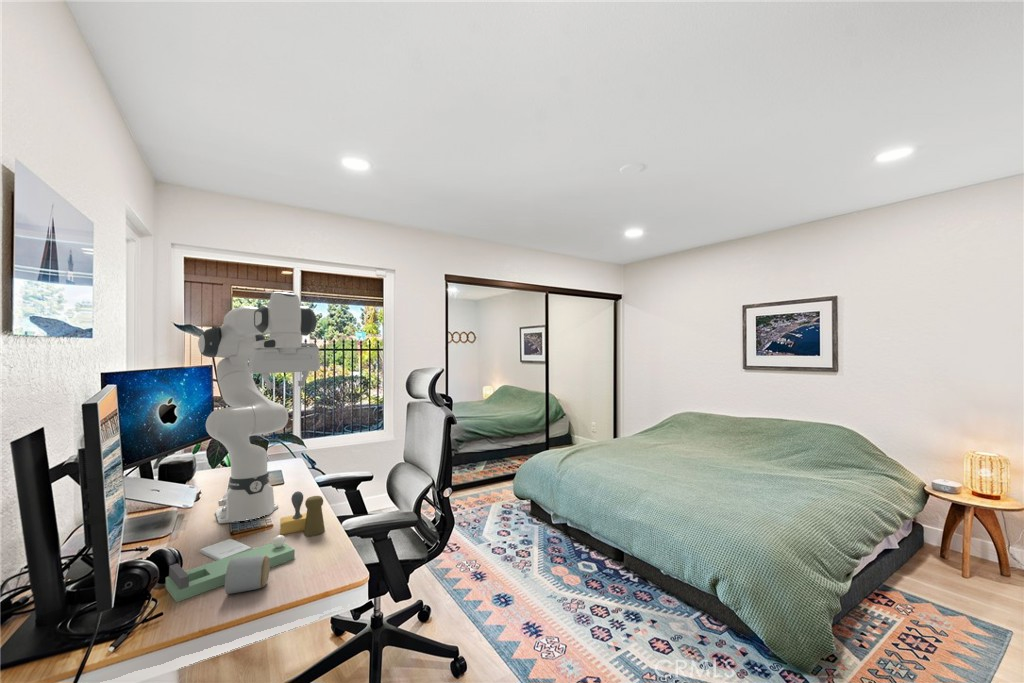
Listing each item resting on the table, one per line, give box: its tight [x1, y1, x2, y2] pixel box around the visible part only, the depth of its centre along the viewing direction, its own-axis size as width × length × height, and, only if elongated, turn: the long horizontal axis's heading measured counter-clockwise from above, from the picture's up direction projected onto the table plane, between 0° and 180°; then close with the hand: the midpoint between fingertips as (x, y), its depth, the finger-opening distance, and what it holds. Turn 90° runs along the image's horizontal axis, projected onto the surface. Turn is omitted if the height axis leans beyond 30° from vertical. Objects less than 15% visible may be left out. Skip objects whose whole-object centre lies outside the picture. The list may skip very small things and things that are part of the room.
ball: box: [272, 534, 287, 548], centre depth 118 cm, size 3×3×3 cm
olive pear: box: [303, 495, 326, 537], centre depth 135 cm, size 6×6×11 cm
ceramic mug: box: [224, 555, 271, 595], centre depth 103 cm, size 11×8×8 cm
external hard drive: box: [200, 538, 253, 561], centre depth 122 cm, size 2×8×12 cm
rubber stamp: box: [279, 490, 307, 536], centre depth 138 cm, size 10×6×12 cm, turn 119°
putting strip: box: [165, 541, 296, 603], centre depth 110 cm, size 10×26×5 cm, turn 140°
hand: (286, 387), depth 132 cm, fingers open, 8 cm apart
